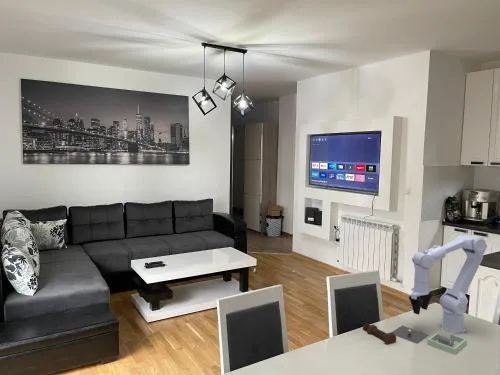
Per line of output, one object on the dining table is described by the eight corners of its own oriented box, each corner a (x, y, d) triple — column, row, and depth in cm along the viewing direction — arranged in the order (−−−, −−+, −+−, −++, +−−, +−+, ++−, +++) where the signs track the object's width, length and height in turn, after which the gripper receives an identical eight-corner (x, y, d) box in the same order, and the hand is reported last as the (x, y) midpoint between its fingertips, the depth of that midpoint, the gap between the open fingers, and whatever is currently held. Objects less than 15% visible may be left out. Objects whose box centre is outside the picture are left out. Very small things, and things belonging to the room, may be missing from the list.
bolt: (366, 334, 162) (393, 349, 149) (358, 331, 160) (385, 345, 147) (371, 322, 163) (398, 335, 150) (363, 318, 161) (390, 331, 148)
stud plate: (402, 327, 165) (402, 320, 165) (429, 337, 156) (430, 329, 156) (389, 335, 157) (389, 328, 157) (417, 346, 148) (417, 338, 148)
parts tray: (439, 337, 156) (439, 330, 156) (466, 346, 149) (466, 339, 148) (427, 346, 148) (427, 339, 148) (454, 357, 140) (455, 349, 140)
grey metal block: (453, 345, 148) (454, 329, 148) (449, 348, 146) (450, 333, 145) (442, 341, 152) (443, 326, 151) (438, 344, 149) (438, 329, 148)
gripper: (419, 275, 165) (418, 304, 166) (404, 281, 155) (403, 312, 156) (436, 278, 160) (434, 309, 160) (421, 286, 150) (420, 318, 151)
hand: (420, 311), depth 158 cm, fingers open, 7 cm apart
